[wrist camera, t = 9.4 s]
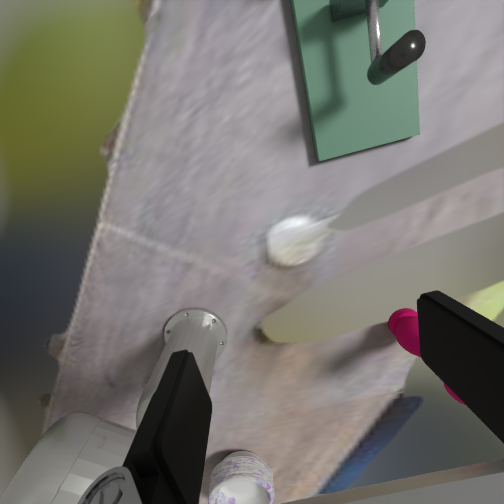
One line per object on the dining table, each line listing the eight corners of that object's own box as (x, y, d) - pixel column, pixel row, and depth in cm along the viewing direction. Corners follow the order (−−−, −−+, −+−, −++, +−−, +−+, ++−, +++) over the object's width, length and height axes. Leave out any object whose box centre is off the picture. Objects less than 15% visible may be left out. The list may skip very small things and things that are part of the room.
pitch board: (413, 135, 40) (419, 134, 39) (316, 161, 41) (319, 161, 40) (403, -65, 33) (411, -76, 31) (285, -28, 34) (287, -36, 32)
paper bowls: (283, 459, 63) (288, 498, 55) (246, 490, 66) (246, 530, 59) (237, 432, 60) (235, 470, 52) (200, 466, 63) (194, 506, 56)
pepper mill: (381, 334, 52) (459, 428, 33) (390, 304, 49) (479, 386, 30) (414, 337, 52) (510, 431, 33) (425, 306, 50) (534, 389, 31)
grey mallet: (388, 87, 36) (446, 52, 26) (341, 100, 37) (379, 71, 26) (381, -16, 32) (444, -105, 22) (329, 1, 33) (366, -80, 22)
